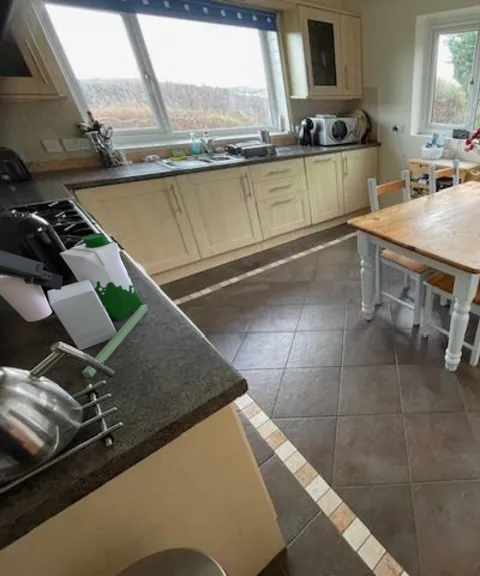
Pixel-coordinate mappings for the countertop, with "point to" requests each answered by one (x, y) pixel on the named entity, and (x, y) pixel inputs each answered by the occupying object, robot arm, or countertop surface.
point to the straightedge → (116, 339)
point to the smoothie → (24, 298)
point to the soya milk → (104, 274)
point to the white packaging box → (82, 314)
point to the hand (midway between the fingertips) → (39, 284)
